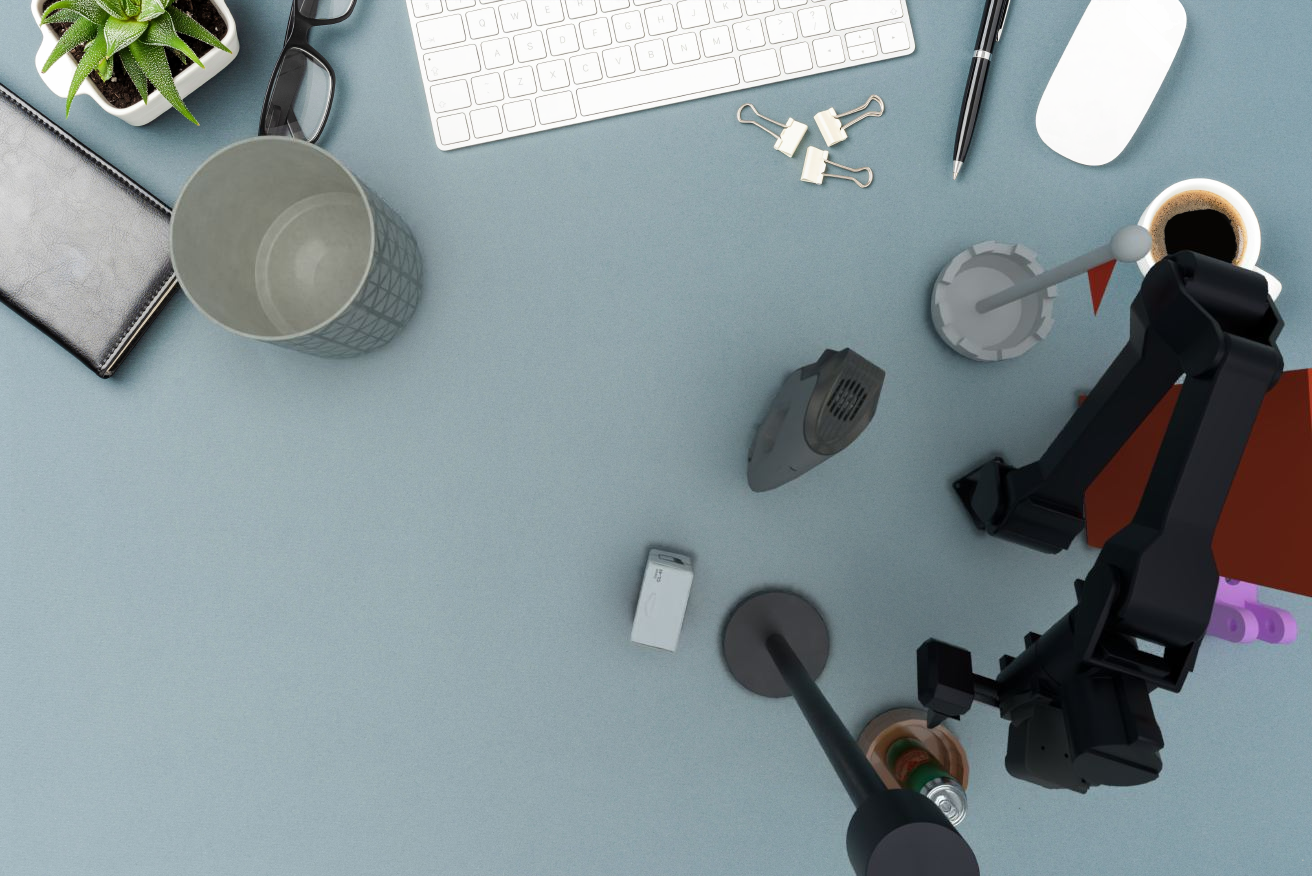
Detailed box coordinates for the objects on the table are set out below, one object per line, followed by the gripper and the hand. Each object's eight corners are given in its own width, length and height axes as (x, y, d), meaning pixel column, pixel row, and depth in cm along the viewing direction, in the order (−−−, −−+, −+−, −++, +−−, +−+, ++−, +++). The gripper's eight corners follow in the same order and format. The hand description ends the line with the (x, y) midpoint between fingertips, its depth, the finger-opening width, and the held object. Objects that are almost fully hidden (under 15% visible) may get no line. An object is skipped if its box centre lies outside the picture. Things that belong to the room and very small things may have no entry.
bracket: (1247, 632, 89) (1297, 648, 82) (1198, 631, 89) (1245, 646, 82) (1249, 519, 89) (1299, 525, 82) (1201, 518, 89) (1247, 524, 82)
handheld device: (839, 392, 89) (911, 371, 64) (768, 503, 89) (813, 524, 64) (794, 364, 89) (849, 331, 64) (724, 474, 89) (752, 485, 64)
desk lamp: (703, 623, 89) (763, 839, 40) (792, 570, 89) (962, 720, 40) (756, 713, 89) (883, 1041, 40) (845, 659, 89) (1082, 921, 40)
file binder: (1083, 545, 89) (1324, 600, 57) (1075, 396, 89) (1309, 368, 57) (1153, 541, 89) (1432, 594, 57) (1144, 392, 89) (1417, 362, 57)
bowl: (834, 739, 89) (843, 754, 85) (921, 687, 89) (934, 699, 85) (886, 826, 89) (897, 845, 84) (972, 774, 89) (988, 791, 85)
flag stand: (929, 245, 89) (1068, 143, 59) (1041, 260, 89) (1236, 167, 59) (914, 356, 89) (1046, 310, 59) (1026, 371, 89) (1214, 334, 59)
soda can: (908, 726, 88) (948, 770, 76) (937, 760, 88) (982, 809, 76) (875, 755, 88) (910, 804, 76) (904, 789, 88) (943, 843, 76)
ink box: (674, 629, 89) (677, 657, 77) (631, 619, 89) (628, 645, 77) (691, 555, 89) (697, 571, 77) (648, 545, 89) (648, 560, 77)
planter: (258, 207, 89) (157, 146, 71) (421, 189, 89) (363, 124, 71) (275, 370, 89) (178, 350, 71) (439, 352, 89) (384, 328, 71)
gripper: (969, 716, 59) (881, 791, 69) (1202, 793, 59) (1078, 855, 69) (960, 597, 67) (882, 681, 77) (1165, 665, 67) (1059, 739, 77)
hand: (973, 739), depth 75 cm, fingers open, 9 cm apart
